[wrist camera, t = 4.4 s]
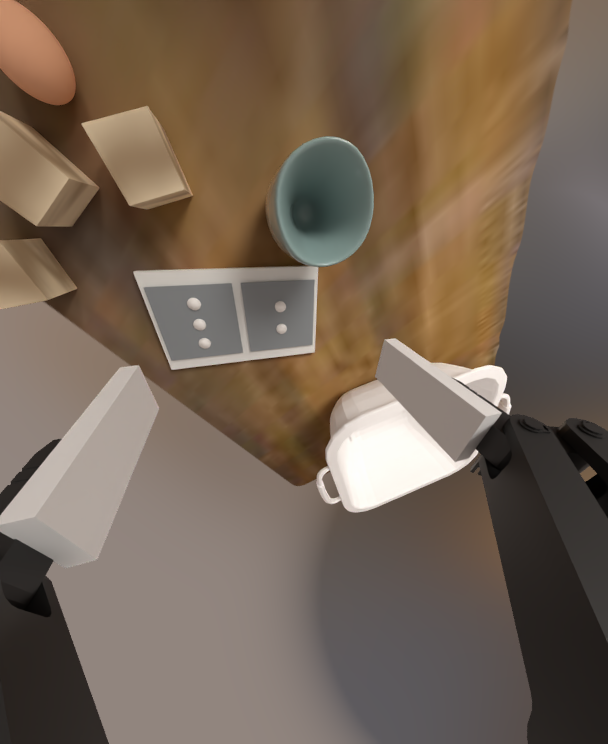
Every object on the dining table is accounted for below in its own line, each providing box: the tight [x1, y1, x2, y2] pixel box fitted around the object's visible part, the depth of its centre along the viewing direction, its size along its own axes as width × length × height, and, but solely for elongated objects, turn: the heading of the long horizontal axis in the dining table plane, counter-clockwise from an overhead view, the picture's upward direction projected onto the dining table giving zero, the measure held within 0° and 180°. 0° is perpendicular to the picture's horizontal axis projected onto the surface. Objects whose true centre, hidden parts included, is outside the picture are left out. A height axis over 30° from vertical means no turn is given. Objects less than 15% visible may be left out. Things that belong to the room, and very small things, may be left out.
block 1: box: [0, 111, 99, 227], centre depth 17 cm, size 4×4×4 cm
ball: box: [0, 0, 76, 105], centre depth 14 cm, size 4×4×4 cm
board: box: [133, 266, 318, 370], centre depth 28 cm, size 12×20×1 cm, turn 90°
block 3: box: [81, 106, 193, 210], centre depth 18 cm, size 4×4×4 cm
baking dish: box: [316, 363, 511, 512], centre depth 40 cm, size 34×28×13 cm
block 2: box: [0, 238, 78, 310], centre depth 19 cm, size 4×4×4 cm
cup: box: [265, 136, 374, 267], centre depth 20 cm, size 8×8×10 cm
